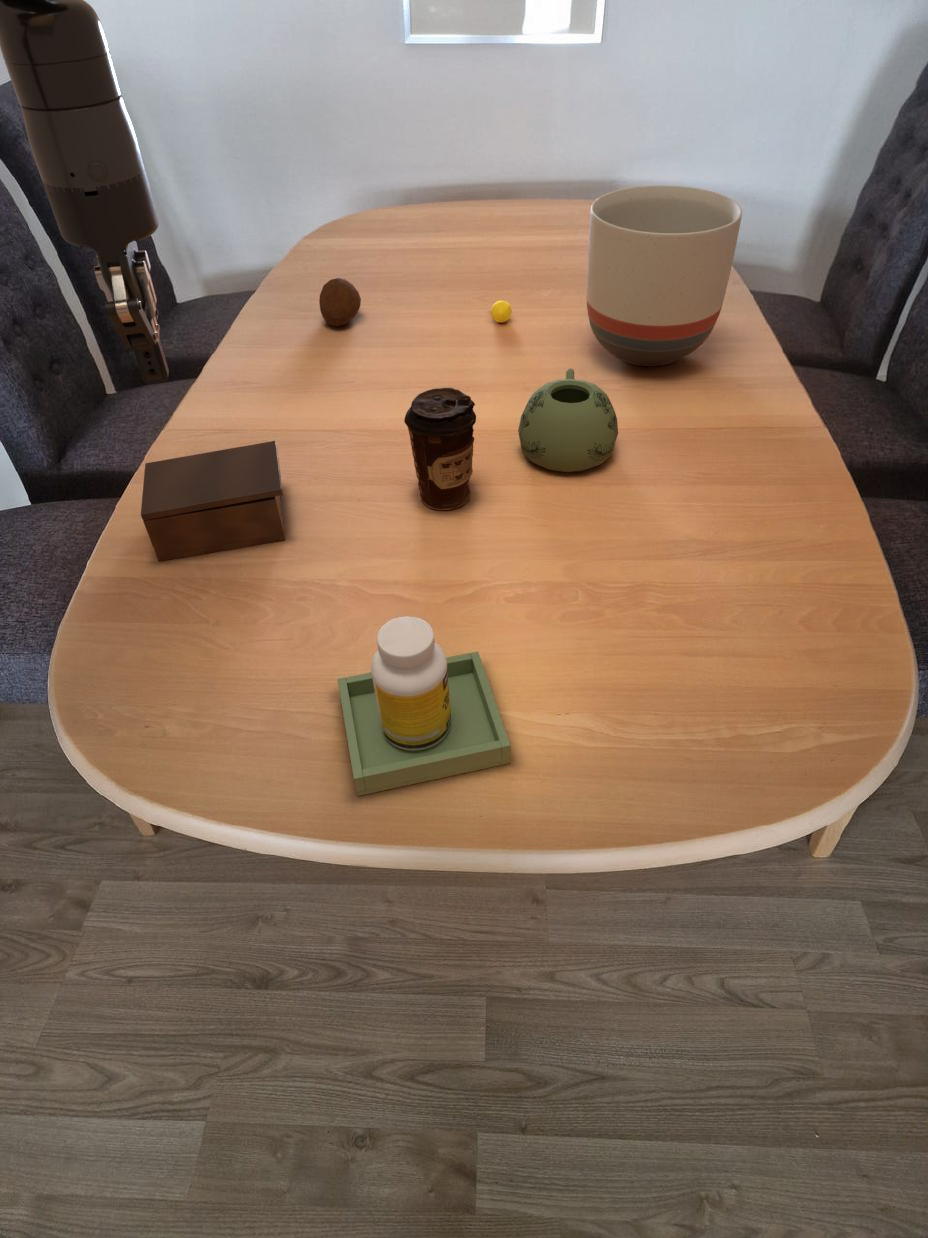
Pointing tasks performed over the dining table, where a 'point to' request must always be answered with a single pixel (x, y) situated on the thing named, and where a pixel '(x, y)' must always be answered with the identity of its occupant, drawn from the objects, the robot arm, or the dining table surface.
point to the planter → (658, 269)
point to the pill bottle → (411, 684)
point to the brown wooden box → (217, 529)
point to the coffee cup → (442, 446)
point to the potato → (339, 301)
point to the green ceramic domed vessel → (568, 425)
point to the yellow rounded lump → (501, 311)
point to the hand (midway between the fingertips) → (157, 379)
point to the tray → (462, 750)
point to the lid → (211, 480)
